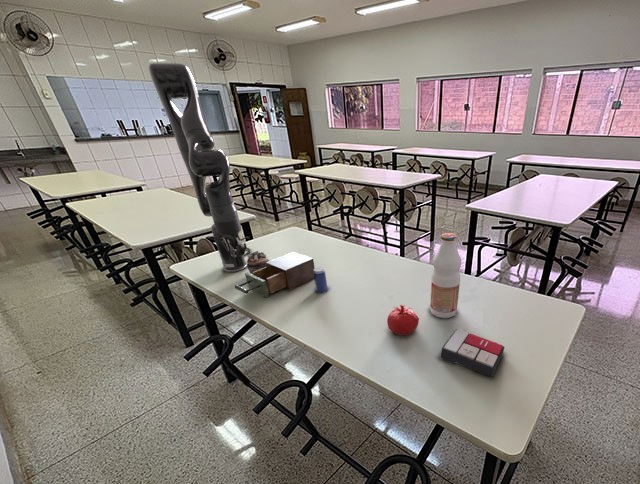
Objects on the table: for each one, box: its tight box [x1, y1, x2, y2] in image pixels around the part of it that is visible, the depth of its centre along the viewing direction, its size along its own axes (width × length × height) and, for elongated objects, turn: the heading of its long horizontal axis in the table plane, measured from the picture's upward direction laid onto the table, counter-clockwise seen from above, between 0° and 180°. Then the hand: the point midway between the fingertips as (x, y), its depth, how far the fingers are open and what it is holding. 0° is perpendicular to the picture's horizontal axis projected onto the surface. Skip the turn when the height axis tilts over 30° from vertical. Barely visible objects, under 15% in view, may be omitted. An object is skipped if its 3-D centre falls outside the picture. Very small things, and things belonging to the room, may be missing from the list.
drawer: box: [233, 266, 287, 299], centre depth 122 cm, size 19×12×7 cm, turn 144°
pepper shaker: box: [313, 266, 329, 293], centre depth 124 cm, size 4×4×9 cm
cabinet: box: [266, 251, 316, 291], centre depth 132 cm, size 14×13×9 cm
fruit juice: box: [429, 232, 462, 319], centre depth 105 cm, size 9×9×28 cm
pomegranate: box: [386, 304, 420, 336], centre depth 101 cm, size 10×10×9 cm
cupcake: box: [246, 250, 270, 275], centre depth 135 cm, size 10×10×10 cm
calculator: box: [440, 328, 505, 378], centre depth 91 cm, size 11×4×15 cm
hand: (239, 265), depth 113 cm, fingers closed
